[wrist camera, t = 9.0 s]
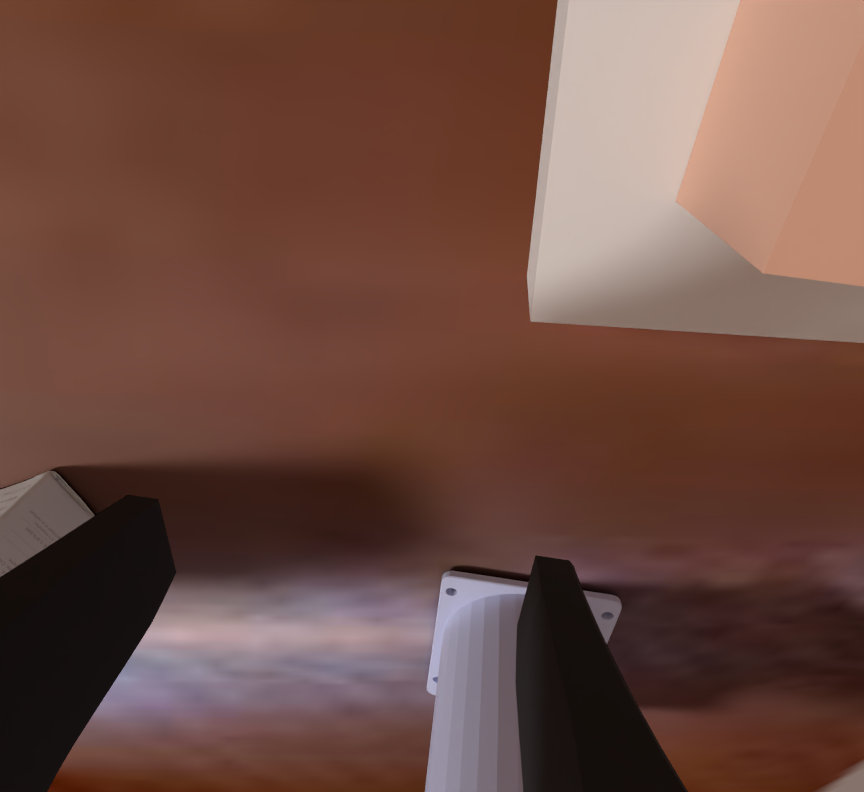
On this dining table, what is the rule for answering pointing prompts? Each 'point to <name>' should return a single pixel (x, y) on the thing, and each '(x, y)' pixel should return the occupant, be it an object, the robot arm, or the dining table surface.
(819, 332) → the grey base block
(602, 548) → the dining table surface
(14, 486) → the skincare box
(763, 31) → the terracotta block
